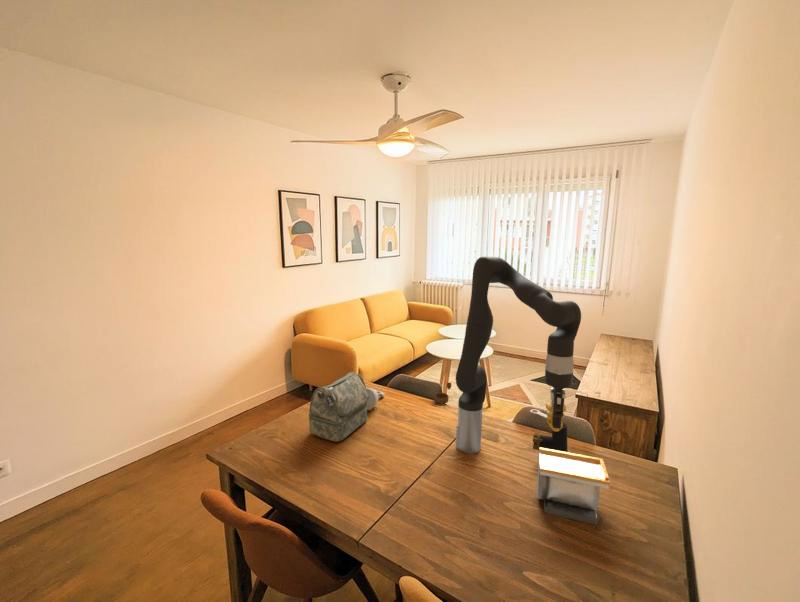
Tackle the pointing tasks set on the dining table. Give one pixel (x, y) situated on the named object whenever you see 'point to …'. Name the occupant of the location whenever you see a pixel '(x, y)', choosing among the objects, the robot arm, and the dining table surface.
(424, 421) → the dining table surface
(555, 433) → the pipe connector
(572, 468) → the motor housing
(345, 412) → the lunch bag
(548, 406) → the pressure relief valve
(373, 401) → the engine component
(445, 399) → the place setting
